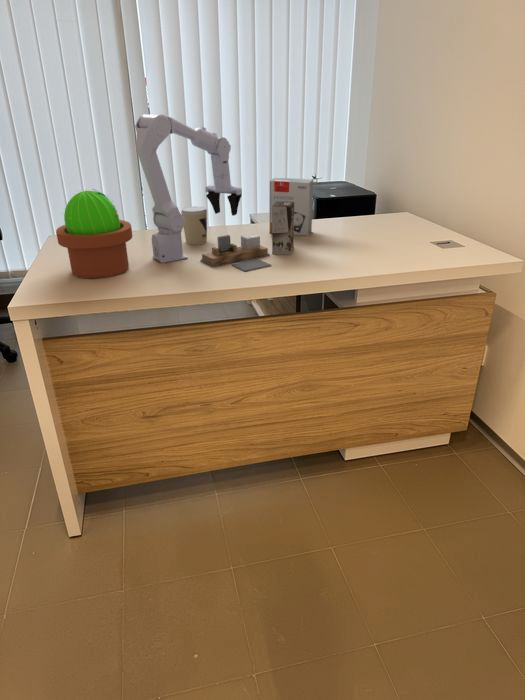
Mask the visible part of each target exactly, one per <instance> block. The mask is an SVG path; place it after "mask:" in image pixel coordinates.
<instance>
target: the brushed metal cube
mask: <svg viewBox="0 0 525 700" xmlns="http://www.w3.org/2000/svg"><path fill="white" fill-rule="evenodd" d="M260 245H261V236H260V235H259V234H258V235H257V234H255V233H252V234H251V233H249V234H246V235H240V247H241V248H243V249H245V250H247V251H248V250H253V249H258V248H260Z"/></svg>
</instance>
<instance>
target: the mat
mask: <svg viewBox="0 0 525 700" xmlns="http://www.w3.org/2000/svg"><path fill="white" fill-rule="evenodd" d="M231 266H232V267H234V268H236V269H238V270H240V271H242V272H245V273H246V272H250V271H256V270H259V269H264V268H268V267H272V264H270V263H268V262H266V261H263V260H262V259H259V258H255V259H250V260H245V261H240V262H235V263H231Z"/></svg>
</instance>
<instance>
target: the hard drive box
mask: <svg viewBox="0 0 525 700" xmlns="http://www.w3.org/2000/svg"><path fill="white" fill-rule="evenodd" d="M313 197H314V179H313V178H311V179H309V178H287V177H286V178H285V177H274V178H271V180H269V234H272V206H273V205H274V204H275V203H276V202H283V201H290V202H294V236H304V237H308V236H309V235H310V234H311V232H312V229H313V228H312V227H313V225H312V224H313V203H314V202H313V201H314V198H313Z"/></svg>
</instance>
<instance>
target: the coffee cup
mask: <svg viewBox="0 0 525 700" xmlns="http://www.w3.org/2000/svg"><path fill="white" fill-rule="evenodd" d="M180 213H181V214H182V216H183V217H184V221H185V223H184V227H183V230H184V231H183V232H184V238H185V243H186V244H187V245H202V244H205V243H208V242H207V240H208V209H207V207H204V206H195V205H194V206H186V207H183V208H182V209H181V212H180Z"/></svg>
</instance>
